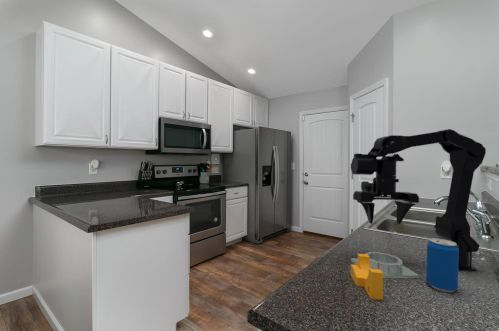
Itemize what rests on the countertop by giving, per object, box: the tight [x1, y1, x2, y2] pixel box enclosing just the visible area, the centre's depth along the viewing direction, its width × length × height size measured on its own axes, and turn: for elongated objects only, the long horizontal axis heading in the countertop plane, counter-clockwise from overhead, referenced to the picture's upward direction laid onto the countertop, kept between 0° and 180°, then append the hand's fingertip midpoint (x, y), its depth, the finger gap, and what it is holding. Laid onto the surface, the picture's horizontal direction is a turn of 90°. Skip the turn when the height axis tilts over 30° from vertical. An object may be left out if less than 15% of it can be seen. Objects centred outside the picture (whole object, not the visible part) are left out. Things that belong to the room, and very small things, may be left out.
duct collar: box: [350, 251, 421, 279], centre depth 73 cm, size 14×12×3 cm
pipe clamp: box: [350, 253, 384, 301], centre depth 62 cm, size 12×4×6 cm, turn 170°
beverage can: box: [425, 237, 459, 293], centre depth 63 cm, size 6×6×12 cm
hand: (384, 223), depth 77 cm, fingers open, 9 cm apart
